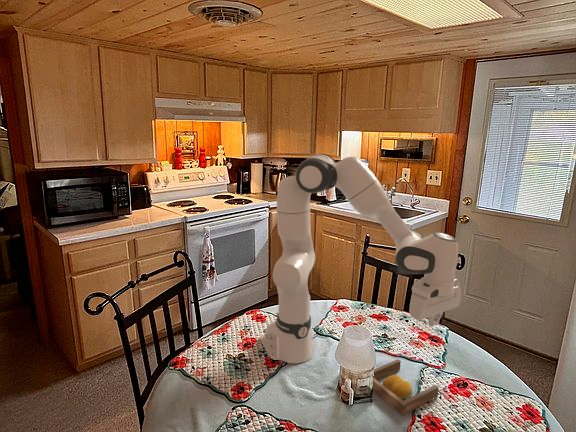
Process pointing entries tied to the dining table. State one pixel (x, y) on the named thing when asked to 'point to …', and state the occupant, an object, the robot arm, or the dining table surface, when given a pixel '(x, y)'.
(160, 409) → the dining table surface
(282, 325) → the robot arm
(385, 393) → the tray
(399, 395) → the bread roll
